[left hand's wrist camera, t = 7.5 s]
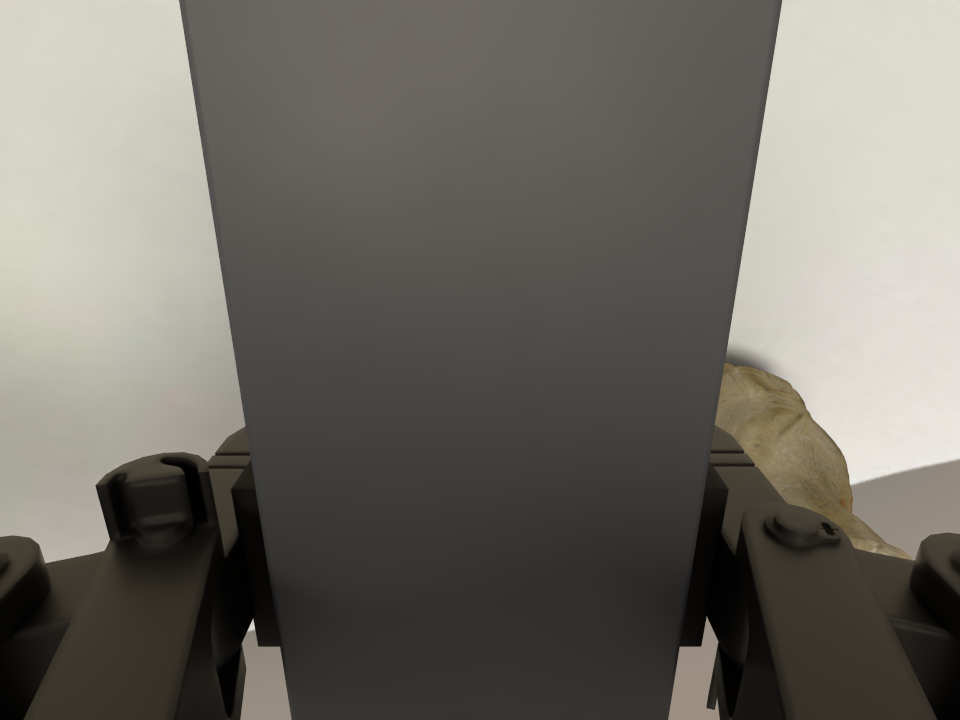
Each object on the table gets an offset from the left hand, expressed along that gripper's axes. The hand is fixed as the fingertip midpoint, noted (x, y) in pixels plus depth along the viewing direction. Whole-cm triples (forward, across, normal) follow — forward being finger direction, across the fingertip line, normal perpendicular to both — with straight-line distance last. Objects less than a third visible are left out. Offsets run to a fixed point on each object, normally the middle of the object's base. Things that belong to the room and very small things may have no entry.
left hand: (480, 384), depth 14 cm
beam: (+1, 0, -34) cm, 34 cm away
